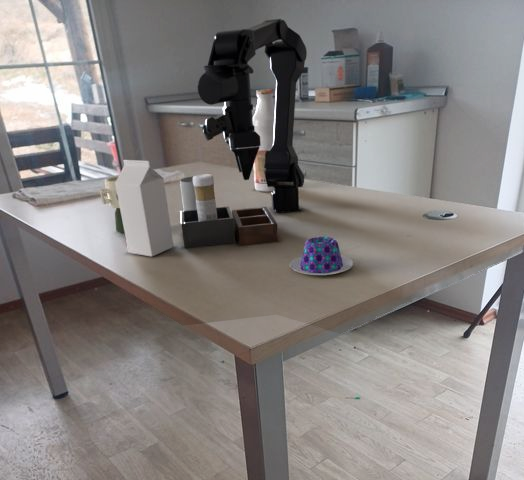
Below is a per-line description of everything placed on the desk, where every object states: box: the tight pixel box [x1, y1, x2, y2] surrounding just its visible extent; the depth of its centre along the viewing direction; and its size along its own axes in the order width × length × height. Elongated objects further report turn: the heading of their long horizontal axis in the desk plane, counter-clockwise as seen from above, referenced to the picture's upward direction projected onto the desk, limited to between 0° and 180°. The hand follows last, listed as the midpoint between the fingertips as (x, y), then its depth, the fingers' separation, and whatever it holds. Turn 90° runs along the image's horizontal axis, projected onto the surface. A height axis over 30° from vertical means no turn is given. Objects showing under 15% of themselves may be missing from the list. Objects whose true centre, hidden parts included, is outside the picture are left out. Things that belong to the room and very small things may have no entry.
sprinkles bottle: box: [193, 173, 218, 221], centre depth 117 cm, size 5×5×14 cm
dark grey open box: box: [180, 206, 236, 249], centre depth 119 cm, size 11×11×6 cm
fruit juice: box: [252, 88, 275, 192], centre depth 157 cm, size 9×9×28 cm
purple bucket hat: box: [289, 236, 354, 276], centre depth 98 cm, size 12×12×5 cm
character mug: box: [99, 175, 125, 235], centre depth 126 cm, size 11×7×13 cm, turn 130°
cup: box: [179, 175, 197, 211], centre depth 135 cm, size 8×8×10 cm
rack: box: [231, 206, 279, 246], centre depth 121 cm, size 8×16×4 cm, turn 9°
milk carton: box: [115, 159, 174, 257], centre depth 110 cm, size 7×7×19 cm
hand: (243, 175), depth 117 cm, fingers open, 9 cm apart
